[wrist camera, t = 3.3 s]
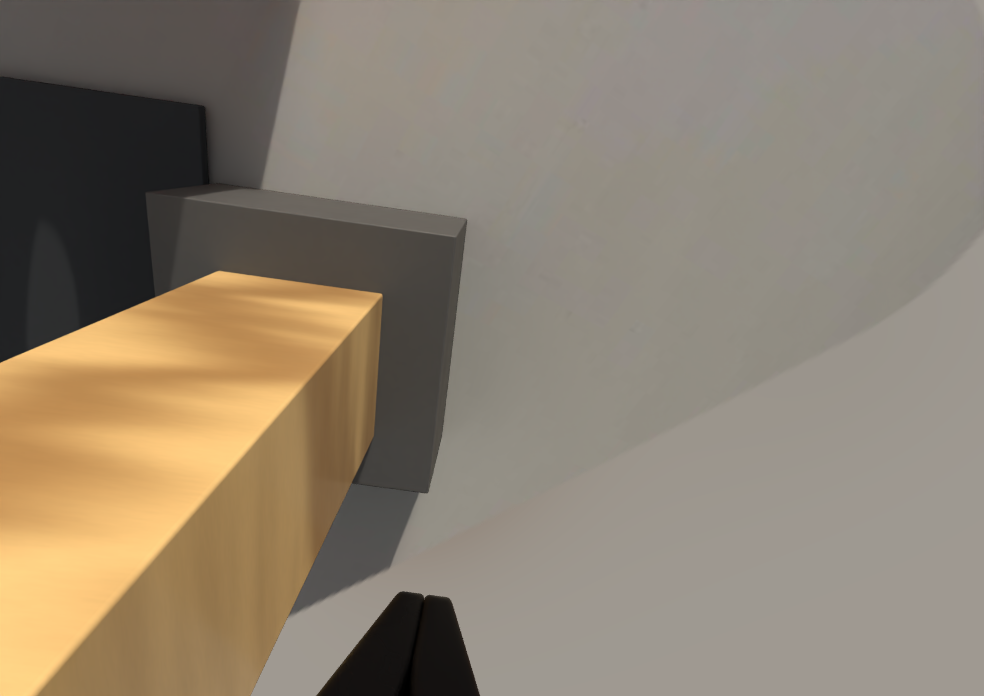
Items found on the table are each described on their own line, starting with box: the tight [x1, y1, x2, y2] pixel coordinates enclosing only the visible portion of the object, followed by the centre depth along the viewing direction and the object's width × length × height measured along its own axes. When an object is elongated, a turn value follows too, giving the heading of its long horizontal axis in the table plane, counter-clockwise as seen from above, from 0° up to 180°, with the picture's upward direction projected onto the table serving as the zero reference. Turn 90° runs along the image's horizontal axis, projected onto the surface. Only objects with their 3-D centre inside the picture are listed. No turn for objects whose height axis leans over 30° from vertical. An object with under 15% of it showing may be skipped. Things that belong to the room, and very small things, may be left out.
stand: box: [146, 183, 467, 493], centre depth 19 cm, size 9×9×4 cm
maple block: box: [0, 271, 383, 696], centre depth 11 cm, size 5×5×13 cm
